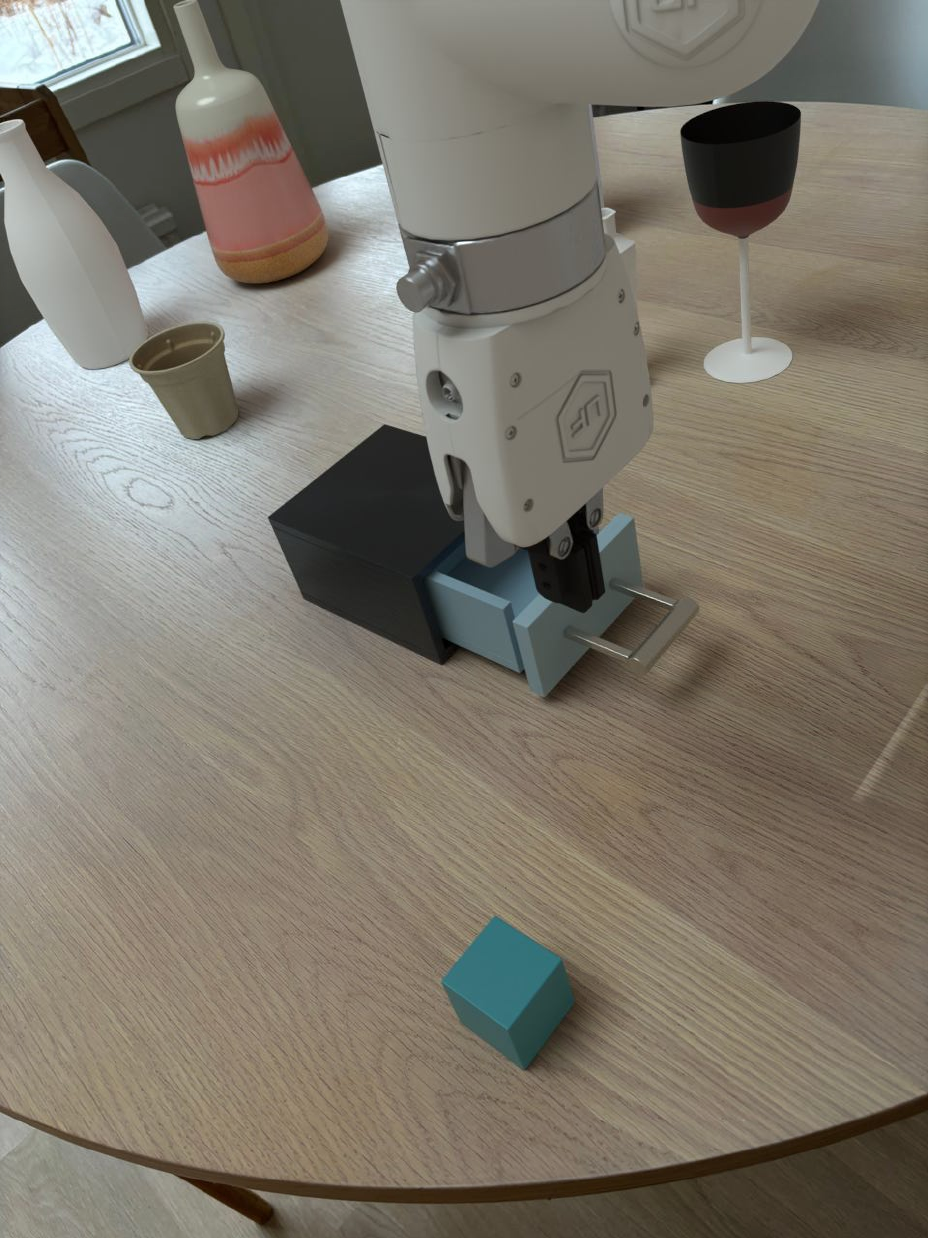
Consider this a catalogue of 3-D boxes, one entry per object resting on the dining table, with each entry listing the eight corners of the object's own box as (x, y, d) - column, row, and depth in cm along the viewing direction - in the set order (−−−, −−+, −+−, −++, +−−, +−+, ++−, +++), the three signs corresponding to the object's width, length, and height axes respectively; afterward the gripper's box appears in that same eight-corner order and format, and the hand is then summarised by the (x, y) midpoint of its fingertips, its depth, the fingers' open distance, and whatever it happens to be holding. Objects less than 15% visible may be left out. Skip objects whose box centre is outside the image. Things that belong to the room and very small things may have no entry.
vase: (204, 297, 125) (94, 34, 105) (256, 244, 134) (164, -8, 115) (306, 291, 120) (211, 12, 100) (352, 236, 129) (273, -30, 109)
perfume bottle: (586, 378, 92) (561, 217, 82) (626, 358, 93) (606, 197, 83) (614, 397, 89) (591, 232, 79) (655, 376, 90) (638, 211, 80)
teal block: (576, 1001, 50) (562, 958, 47) (525, 1071, 48) (507, 1031, 46) (511, 958, 53) (494, 914, 50) (460, 1022, 51) (439, 981, 48)
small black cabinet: (550, 556, 75) (531, 468, 70) (441, 665, 70) (411, 578, 64) (410, 505, 84) (384, 423, 79) (303, 599, 78) (267, 517, 73)
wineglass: (705, 336, 93) (690, 108, 80) (804, 334, 90) (806, 95, 76) (689, 384, 88) (670, 149, 75) (793, 383, 85) (794, 136, 71)
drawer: (724, 617, 66) (720, 543, 62) (626, 736, 61) (614, 664, 56) (494, 534, 77) (477, 467, 73) (394, 627, 72) (370, 561, 68)
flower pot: (193, 397, 107) (159, 322, 101) (271, 395, 103) (240, 317, 97) (149, 449, 100) (110, 373, 95) (229, 449, 97) (194, 370, 91)
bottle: (56, 383, 116) (-69, 158, 99) (82, 337, 125) (-30, 122, 108) (147, 364, 115) (35, 132, 98) (167, 318, 123) (67, 97, 106)
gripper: (444, 360, 33) (535, 722, 45) (698, 171, 40) (717, 531, 52) (300, 321, 38) (418, 660, 50) (549, 156, 44) (599, 492, 56)
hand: (571, 594), depth 51 cm, fingers closed
